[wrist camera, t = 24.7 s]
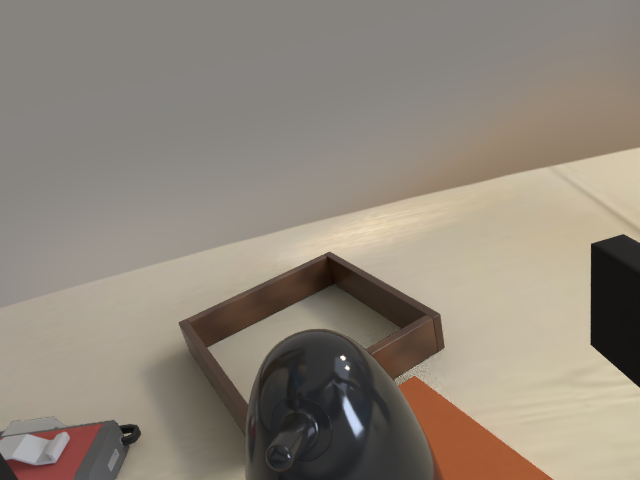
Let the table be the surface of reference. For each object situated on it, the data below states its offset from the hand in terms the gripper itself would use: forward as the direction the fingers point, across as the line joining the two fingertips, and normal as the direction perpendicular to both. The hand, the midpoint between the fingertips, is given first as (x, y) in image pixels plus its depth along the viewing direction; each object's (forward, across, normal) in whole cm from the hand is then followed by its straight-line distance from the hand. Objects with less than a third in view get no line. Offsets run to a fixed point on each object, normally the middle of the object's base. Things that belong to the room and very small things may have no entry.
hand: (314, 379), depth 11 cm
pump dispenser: (+10, 0, -21) cm, 23 cm away
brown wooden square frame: (+31, 0, -22) cm, 37 cm away
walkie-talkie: (+25, -25, -22) cm, 41 cm away
